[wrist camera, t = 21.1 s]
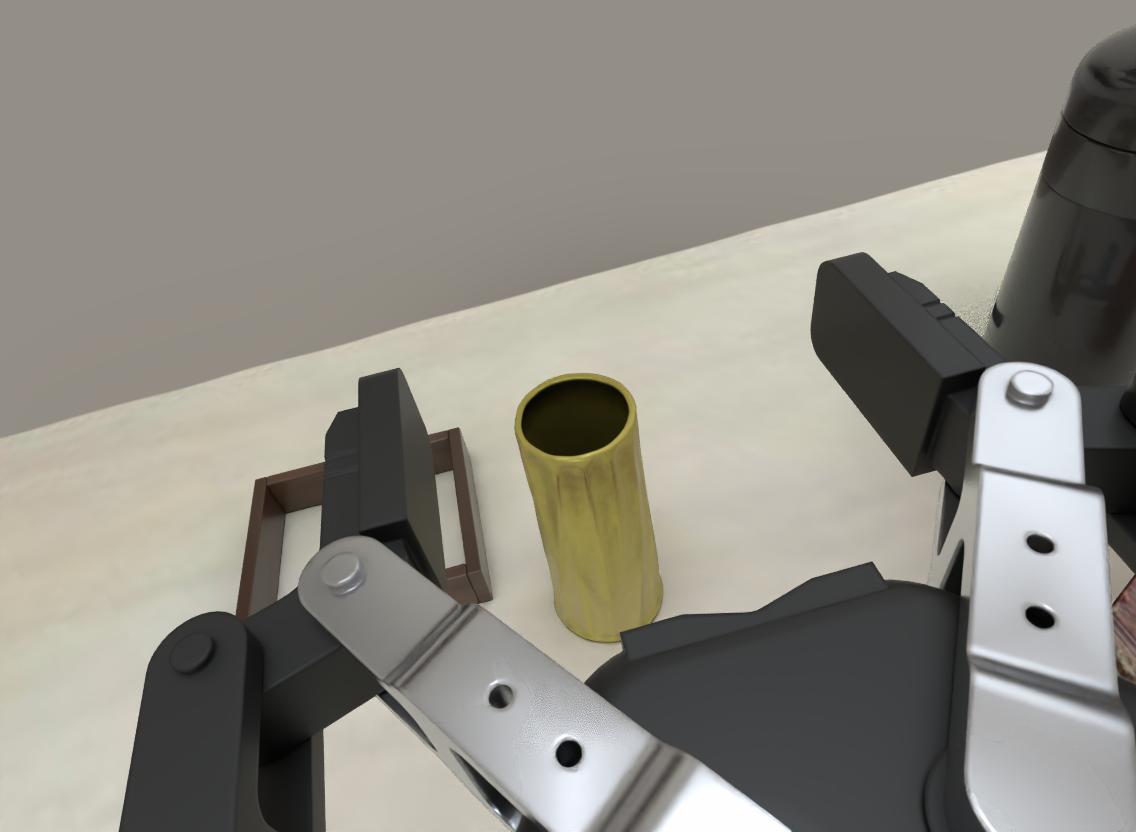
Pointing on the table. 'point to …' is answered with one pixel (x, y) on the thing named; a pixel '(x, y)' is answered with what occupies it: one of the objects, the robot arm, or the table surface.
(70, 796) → the table surface
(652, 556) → the vase
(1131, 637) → the book
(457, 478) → the open brown wooden box
